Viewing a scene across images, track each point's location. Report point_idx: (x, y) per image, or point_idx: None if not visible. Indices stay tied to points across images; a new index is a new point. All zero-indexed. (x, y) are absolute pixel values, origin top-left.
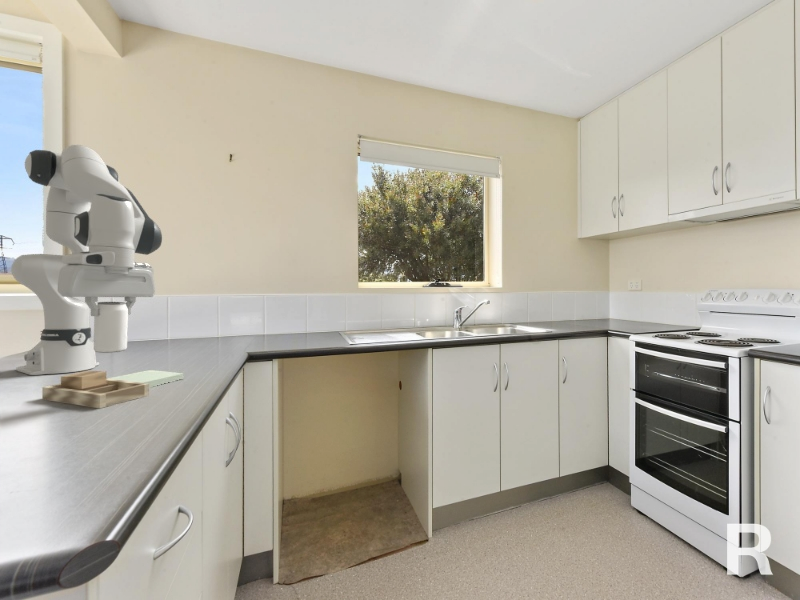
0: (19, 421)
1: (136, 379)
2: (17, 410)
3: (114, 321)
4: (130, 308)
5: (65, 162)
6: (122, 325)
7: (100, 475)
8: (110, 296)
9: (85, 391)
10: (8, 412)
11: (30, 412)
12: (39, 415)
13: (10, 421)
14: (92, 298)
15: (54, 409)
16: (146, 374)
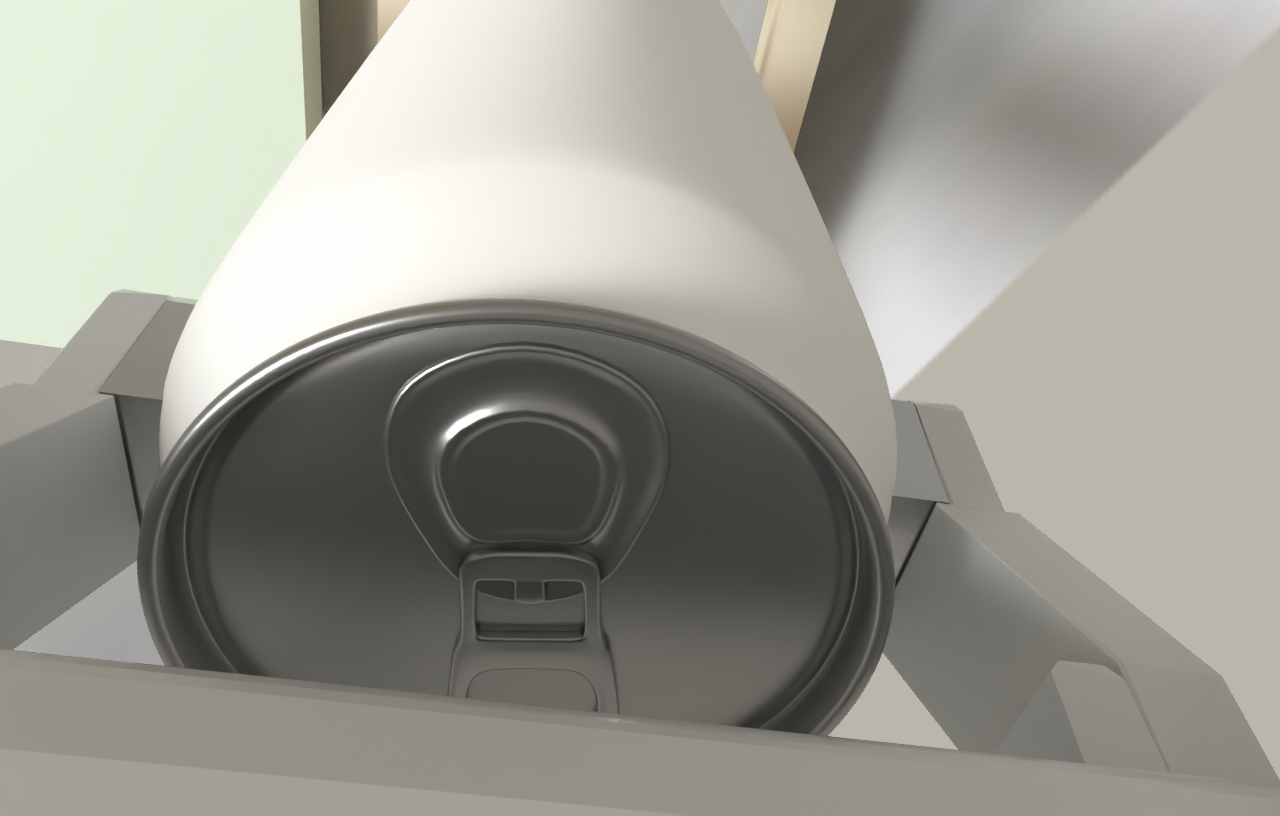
0: (1188, 43)
1: (188, 124)
2: (943, 293)
3: (717, 96)
4: (49, 377)
5: None
6: (541, 19)
7: None
8: (749, 731)
9: (790, 26)
10: (983, 300)
11: (987, 177)
12: (1059, 48)
13: (1178, 101)
14: (1244, 766)
15: (919, 90)
16: (13, 208)
